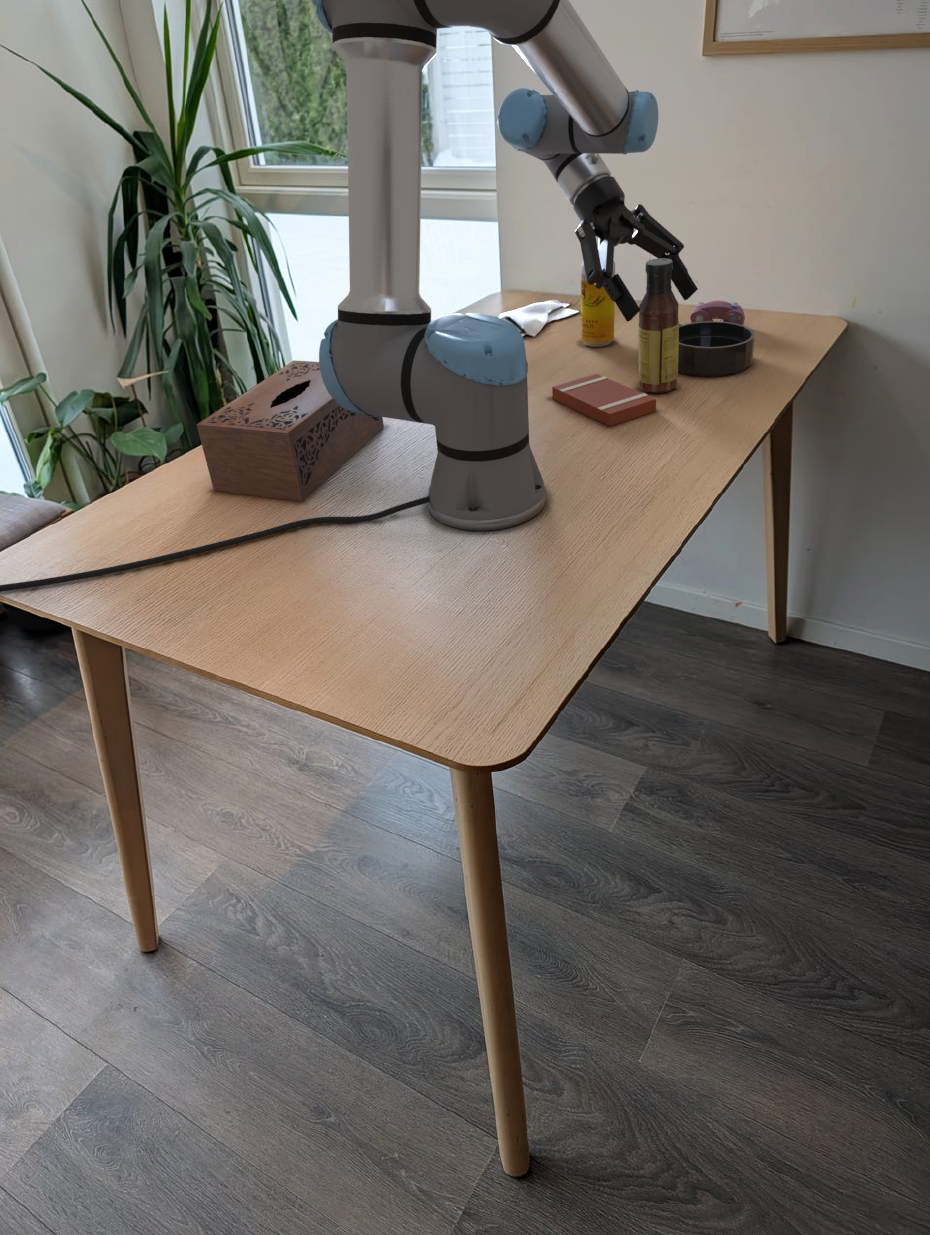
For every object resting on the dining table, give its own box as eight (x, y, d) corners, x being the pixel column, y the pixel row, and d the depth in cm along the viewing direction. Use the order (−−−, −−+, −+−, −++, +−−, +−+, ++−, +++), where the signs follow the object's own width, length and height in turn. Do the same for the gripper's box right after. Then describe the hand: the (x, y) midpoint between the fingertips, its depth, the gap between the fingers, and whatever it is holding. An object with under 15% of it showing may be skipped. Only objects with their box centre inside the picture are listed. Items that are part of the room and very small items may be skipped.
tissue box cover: (301, 501, 121) (287, 433, 116) (213, 490, 126) (196, 424, 121) (383, 427, 141) (375, 365, 135) (304, 420, 146) (293, 360, 140)
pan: (706, 384, 145) (708, 354, 142) (649, 362, 155) (650, 333, 153) (769, 363, 150) (773, 334, 148) (710, 344, 161) (712, 316, 158)
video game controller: (688, 339, 168) (688, 311, 162) (690, 322, 170) (691, 293, 164) (742, 340, 165) (745, 311, 159) (744, 322, 167) (747, 293, 161)
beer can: (575, 341, 168) (574, 258, 159) (602, 335, 170) (603, 252, 161) (592, 349, 163) (592, 264, 155) (620, 343, 165) (622, 258, 156)
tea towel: (609, 426, 134) (609, 413, 133) (552, 398, 145) (551, 386, 144) (656, 411, 137) (656, 398, 136) (596, 385, 148) (596, 373, 147)
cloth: (537, 300, 192) (536, 289, 191) (591, 307, 185) (591, 296, 183) (462, 335, 176) (461, 323, 175) (518, 344, 169) (518, 332, 167)
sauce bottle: (675, 380, 148) (682, 254, 136) (678, 394, 142) (687, 264, 131) (635, 381, 148) (639, 256, 137) (637, 395, 143) (641, 267, 132)
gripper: (546, 187, 129) (622, 310, 128) (658, 160, 142) (728, 271, 140) (522, 223, 136) (594, 339, 134) (632, 194, 148) (699, 300, 147)
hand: (663, 305), depth 137 cm, fingers open, 13 cm apart
